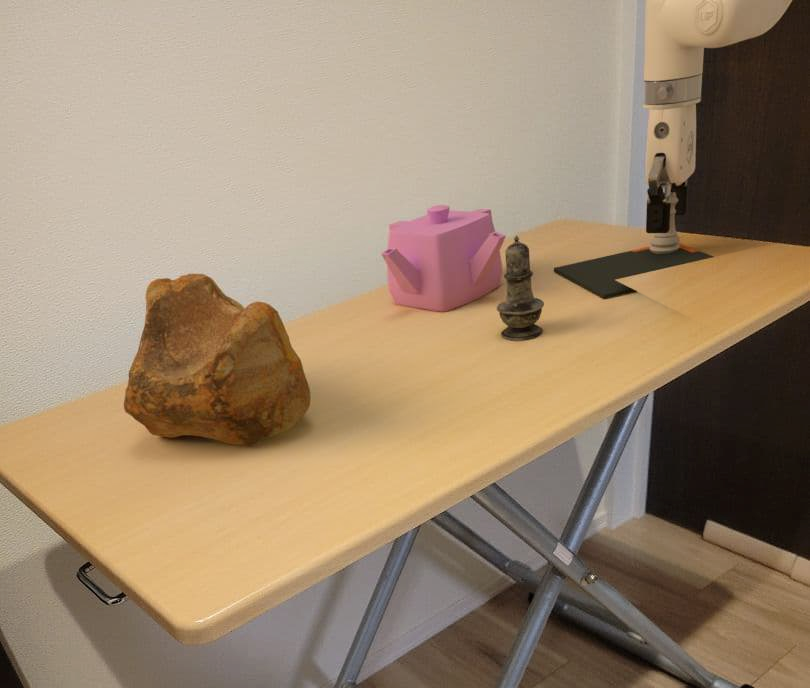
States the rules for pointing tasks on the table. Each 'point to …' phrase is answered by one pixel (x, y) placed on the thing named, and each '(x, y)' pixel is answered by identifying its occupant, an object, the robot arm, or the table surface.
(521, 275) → the salt shaker
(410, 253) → the teakettle
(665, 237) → the rook chess piece
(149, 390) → the rough brown rock
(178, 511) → the table surface
